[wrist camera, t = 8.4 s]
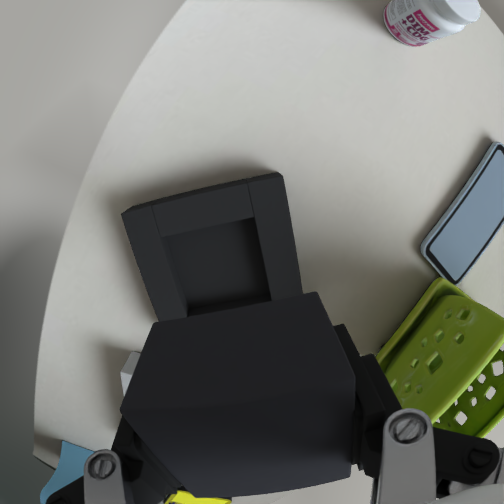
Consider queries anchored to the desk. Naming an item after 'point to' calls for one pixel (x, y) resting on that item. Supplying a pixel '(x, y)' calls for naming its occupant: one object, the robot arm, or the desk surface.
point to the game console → (193, 498)
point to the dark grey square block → (246, 399)
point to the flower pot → (448, 360)
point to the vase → (66, 469)
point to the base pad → (216, 247)
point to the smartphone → (469, 220)
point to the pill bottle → (428, 19)
